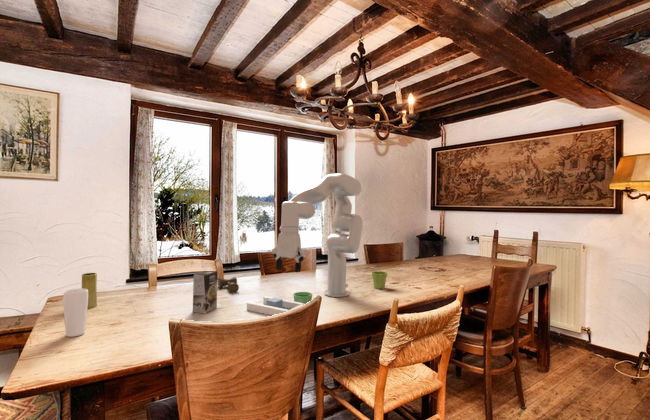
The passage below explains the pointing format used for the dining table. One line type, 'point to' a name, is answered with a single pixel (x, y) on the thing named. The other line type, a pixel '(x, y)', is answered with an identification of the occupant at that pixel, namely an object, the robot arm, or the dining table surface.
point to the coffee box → (205, 291)
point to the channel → (271, 309)
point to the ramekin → (302, 297)
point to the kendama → (229, 284)
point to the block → (275, 302)
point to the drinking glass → (75, 311)
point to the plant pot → (379, 279)
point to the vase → (90, 288)
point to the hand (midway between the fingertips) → (288, 270)
